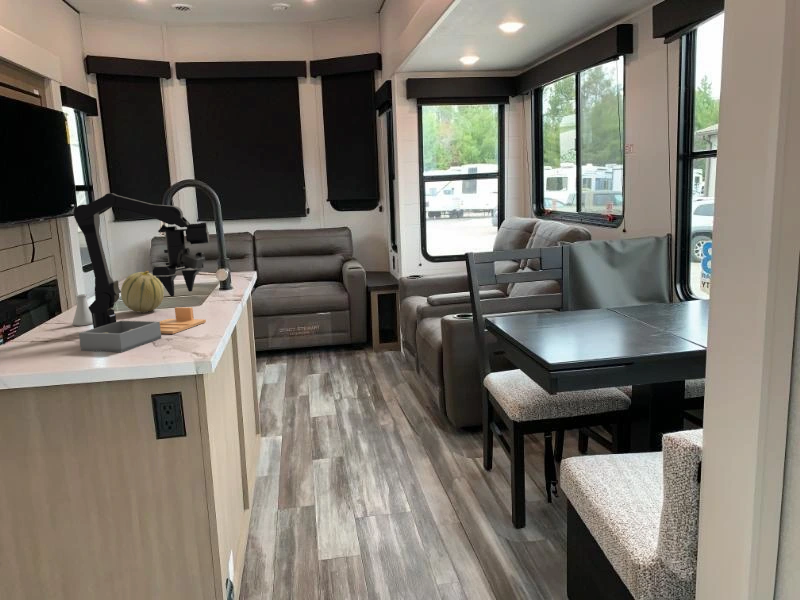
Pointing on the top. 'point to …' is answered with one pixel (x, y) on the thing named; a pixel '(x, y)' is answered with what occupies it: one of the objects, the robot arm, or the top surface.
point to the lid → (180, 321)
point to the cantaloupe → (142, 292)
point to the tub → (120, 336)
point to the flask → (82, 312)
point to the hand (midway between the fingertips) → (181, 293)
